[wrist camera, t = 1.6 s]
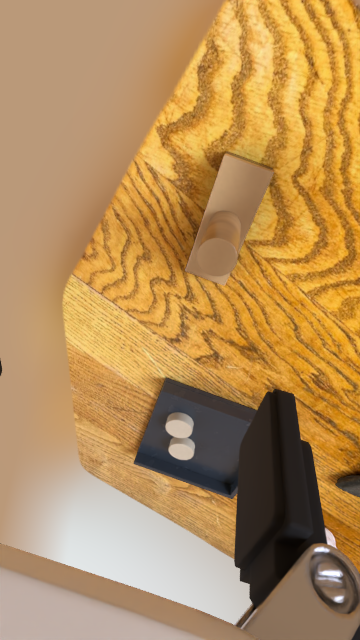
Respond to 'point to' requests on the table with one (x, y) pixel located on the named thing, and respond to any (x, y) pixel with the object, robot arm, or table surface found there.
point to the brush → (228, 217)
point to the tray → (197, 438)
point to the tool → (350, 484)
